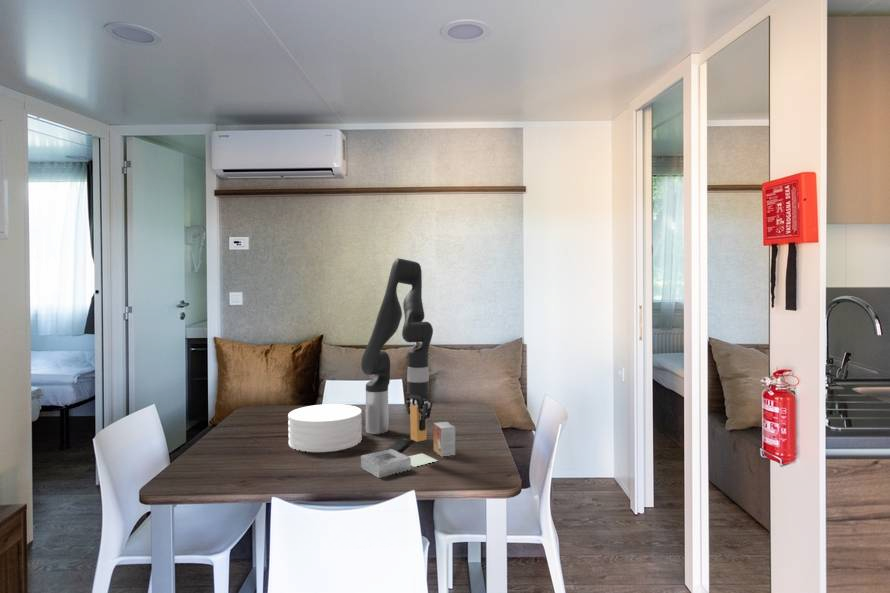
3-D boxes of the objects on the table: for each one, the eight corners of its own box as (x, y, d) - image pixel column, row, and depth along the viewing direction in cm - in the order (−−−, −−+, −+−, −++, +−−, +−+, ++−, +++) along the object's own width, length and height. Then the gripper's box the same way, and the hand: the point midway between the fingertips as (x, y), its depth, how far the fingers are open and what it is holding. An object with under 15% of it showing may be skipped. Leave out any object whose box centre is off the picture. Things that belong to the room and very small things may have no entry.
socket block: (361, 467, 181) (360, 455, 181) (391, 460, 188) (391, 448, 188) (378, 477, 172) (378, 465, 171) (410, 469, 179) (410, 457, 179)
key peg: (420, 437, 190) (419, 403, 190) (426, 439, 187) (426, 405, 187) (410, 439, 188) (410, 404, 188) (417, 441, 185) (416, 406, 184)
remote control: (417, 439, 215) (417, 435, 215) (394, 458, 192) (394, 454, 192) (405, 438, 217) (405, 434, 217) (381, 456, 194) (380, 453, 194)
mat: (398, 459, 189) (398, 458, 189) (422, 454, 195) (422, 453, 195) (414, 467, 181) (414, 466, 181) (438, 461, 187) (438, 460, 187)
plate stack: (345, 454, 195) (345, 423, 195) (274, 450, 201) (274, 419, 201) (371, 433, 223) (371, 405, 223) (308, 429, 228) (308, 402, 228)
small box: (433, 451, 198) (433, 422, 198) (447, 449, 200) (447, 421, 200) (440, 457, 191) (440, 428, 191) (455, 455, 193) (455, 426, 193)
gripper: (438, 381, 183) (439, 431, 184) (415, 375, 195) (416, 422, 195) (420, 383, 179) (421, 435, 179) (397, 377, 190) (398, 426, 191)
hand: (418, 428), depth 187 cm, fingers closed on key peg, 4 cm apart
